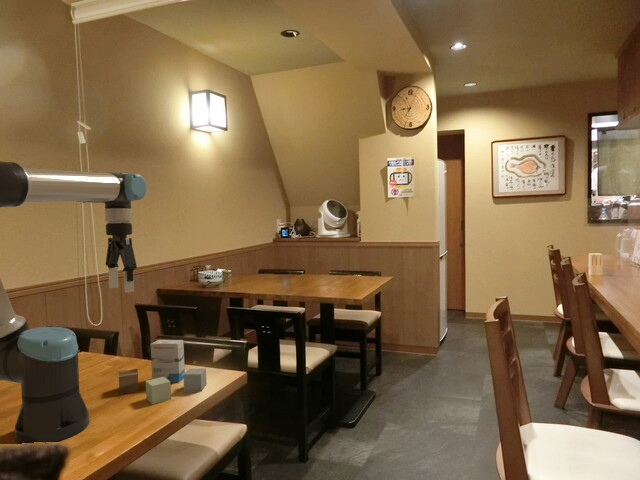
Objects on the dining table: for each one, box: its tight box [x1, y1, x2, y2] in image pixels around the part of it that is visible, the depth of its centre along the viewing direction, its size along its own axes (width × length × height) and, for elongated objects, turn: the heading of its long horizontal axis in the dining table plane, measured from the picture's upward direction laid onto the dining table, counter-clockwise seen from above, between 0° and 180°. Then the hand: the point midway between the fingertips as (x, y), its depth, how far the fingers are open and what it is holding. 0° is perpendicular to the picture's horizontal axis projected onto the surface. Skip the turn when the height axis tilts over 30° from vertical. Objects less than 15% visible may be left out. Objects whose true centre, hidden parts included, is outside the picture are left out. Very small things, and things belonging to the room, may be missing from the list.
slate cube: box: [183, 367, 207, 393], centre depth 131 cm, size 5×5×5 cm
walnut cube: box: [118, 368, 140, 395], centre depth 131 cm, size 5×5×5 cm
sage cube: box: [145, 377, 172, 405], centre depth 124 cm, size 5×5×5 cm
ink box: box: [150, 339, 186, 383], centre depth 138 cm, size 8×5×12 cm, turn 84°
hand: (121, 290), depth 144 cm, fingers open, 13 cm apart
